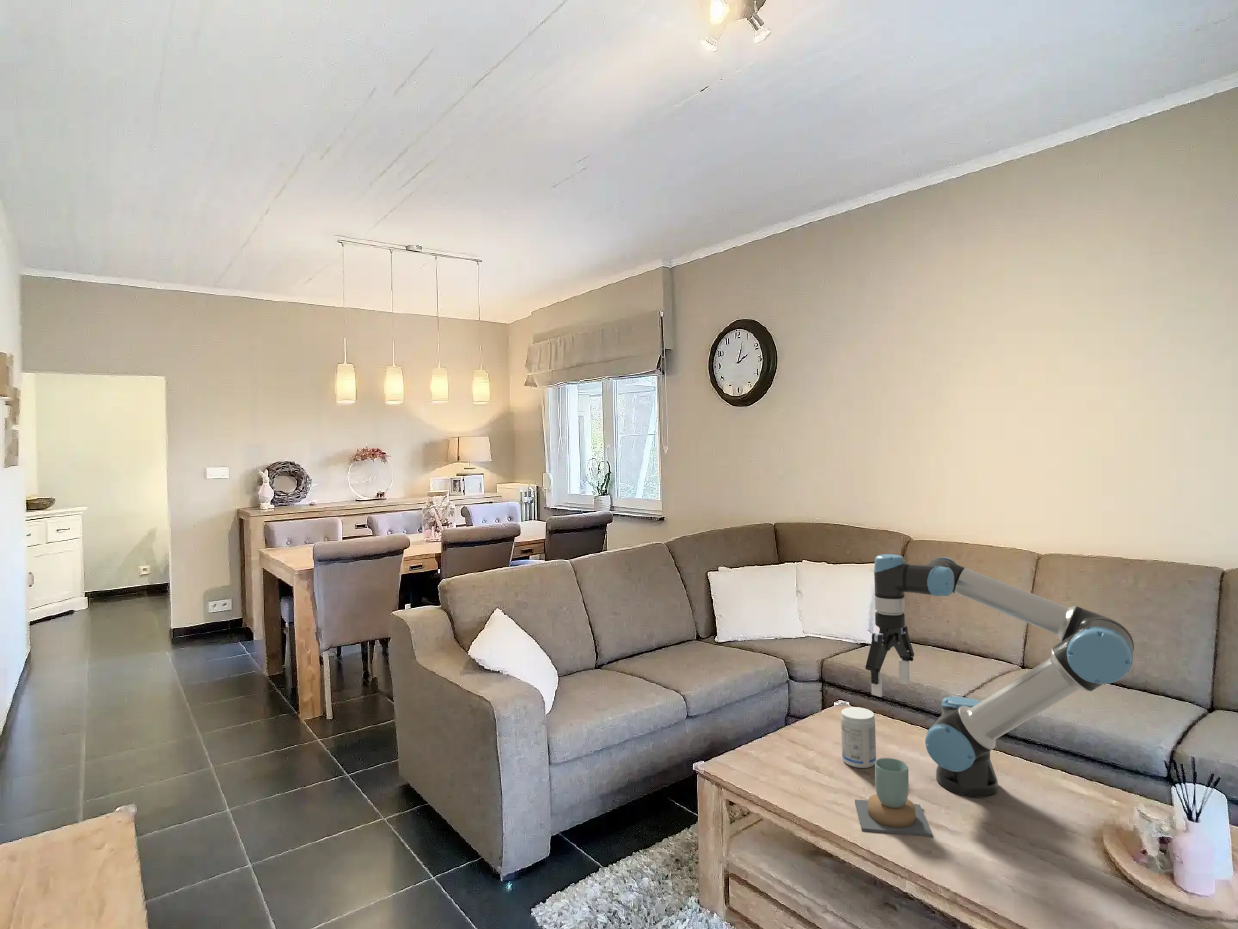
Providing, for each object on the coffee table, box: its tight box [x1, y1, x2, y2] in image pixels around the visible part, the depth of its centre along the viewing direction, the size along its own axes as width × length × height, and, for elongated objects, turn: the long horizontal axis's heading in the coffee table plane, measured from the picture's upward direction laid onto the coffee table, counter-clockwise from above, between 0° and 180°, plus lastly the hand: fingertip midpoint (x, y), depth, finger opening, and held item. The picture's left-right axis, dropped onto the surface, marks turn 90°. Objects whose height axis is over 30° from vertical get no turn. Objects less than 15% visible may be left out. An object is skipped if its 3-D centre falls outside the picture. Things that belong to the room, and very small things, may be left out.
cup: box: [874, 757, 910, 808], centre depth 172 cm, size 8×8×10 cm
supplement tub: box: [840, 706, 877, 769], centre depth 204 cm, size 10×10×15 cm
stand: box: [854, 793, 934, 838], centre depth 173 cm, size 16×14×4 cm
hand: (890, 689), depth 188 cm, fingers open, 13 cm apart
